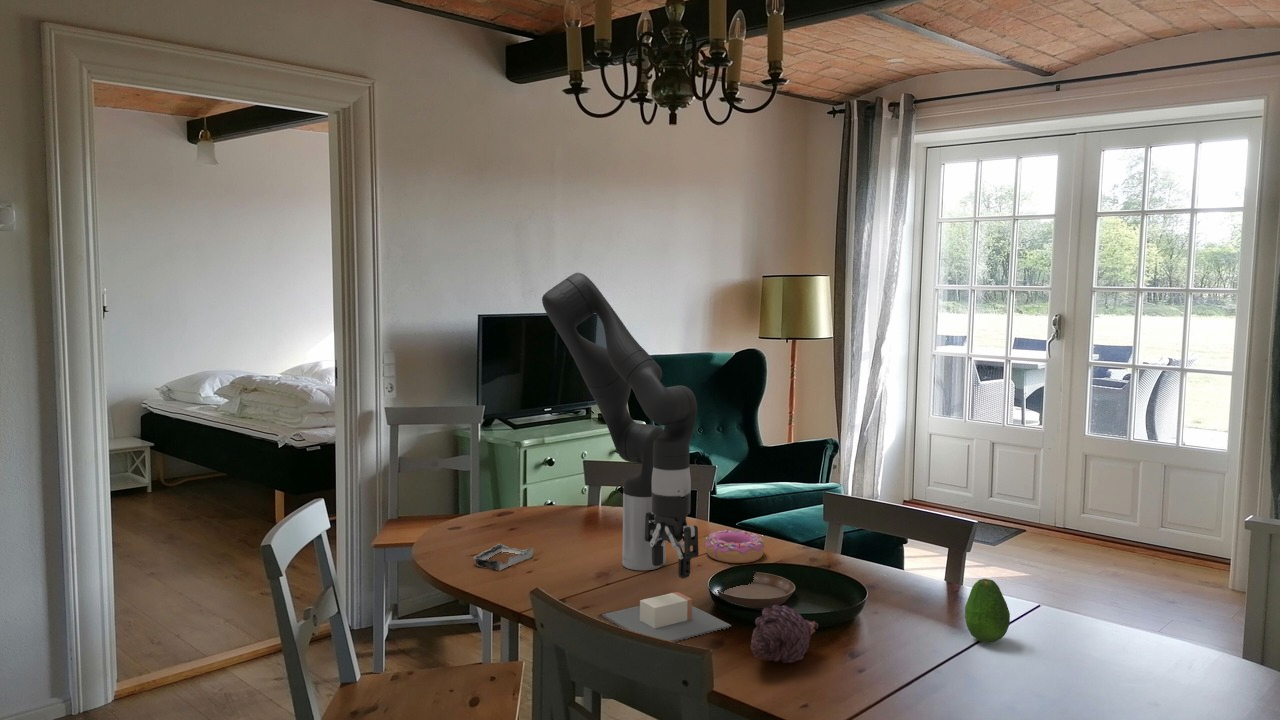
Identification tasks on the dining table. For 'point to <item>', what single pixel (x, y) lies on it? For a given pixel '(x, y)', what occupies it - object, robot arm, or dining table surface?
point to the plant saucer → (760, 591)
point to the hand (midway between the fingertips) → (670, 571)
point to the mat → (672, 632)
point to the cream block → (665, 609)
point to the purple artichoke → (781, 634)
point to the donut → (734, 546)
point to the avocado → (987, 612)
